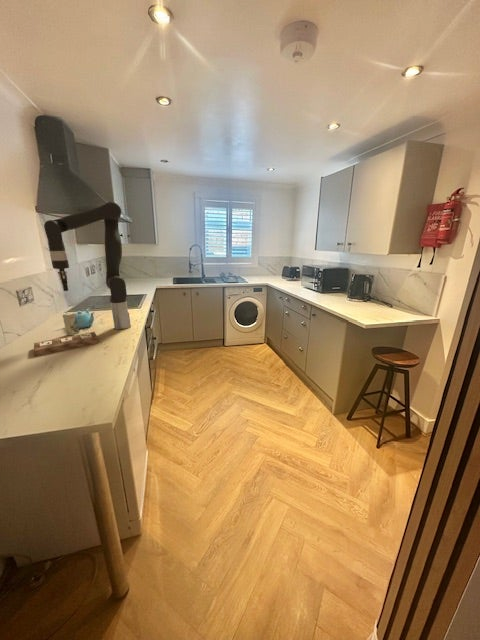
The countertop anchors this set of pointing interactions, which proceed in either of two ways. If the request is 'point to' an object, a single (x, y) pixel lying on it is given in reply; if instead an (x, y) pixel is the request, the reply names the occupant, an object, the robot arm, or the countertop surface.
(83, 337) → the button three
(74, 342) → the button panel
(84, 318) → the teapot
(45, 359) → the countertop surface
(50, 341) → the button two
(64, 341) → the button one
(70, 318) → the box
